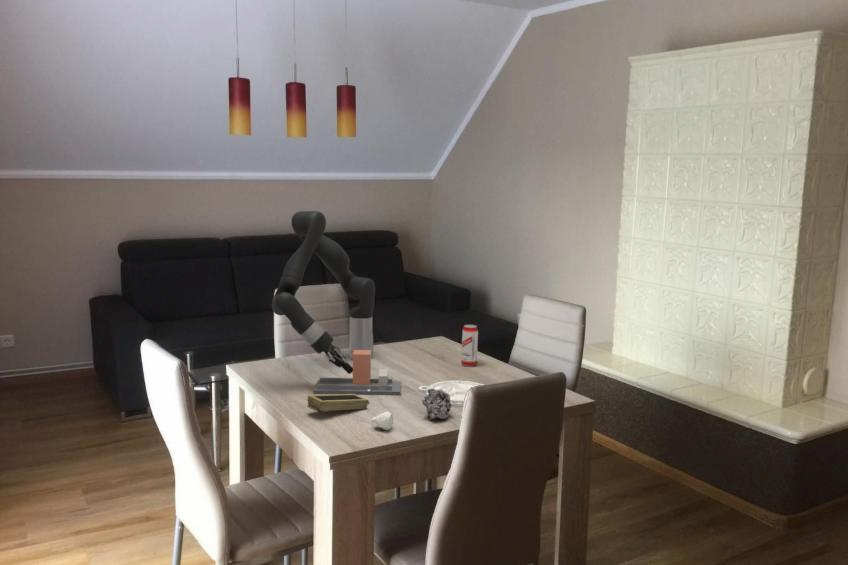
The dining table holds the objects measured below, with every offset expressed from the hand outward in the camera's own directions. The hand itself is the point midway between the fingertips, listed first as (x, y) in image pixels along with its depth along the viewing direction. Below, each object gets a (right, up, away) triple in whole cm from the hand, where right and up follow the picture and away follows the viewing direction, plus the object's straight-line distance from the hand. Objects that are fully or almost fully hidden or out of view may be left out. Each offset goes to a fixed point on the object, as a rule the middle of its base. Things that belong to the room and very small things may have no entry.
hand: (351, 371), depth 255 cm
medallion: (+36, -8, -2) cm, 37 cm away
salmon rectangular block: (+3, -5, +1) cm, 6 cm away
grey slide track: (+2, -6, +1) cm, 7 cm away
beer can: (+44, -2, +35) cm, 56 cm away
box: (-1, -10, -21) cm, 23 cm away
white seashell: (+13, -13, -36) cm, 40 cm away
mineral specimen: (+30, -11, -24) cm, 39 cm away
